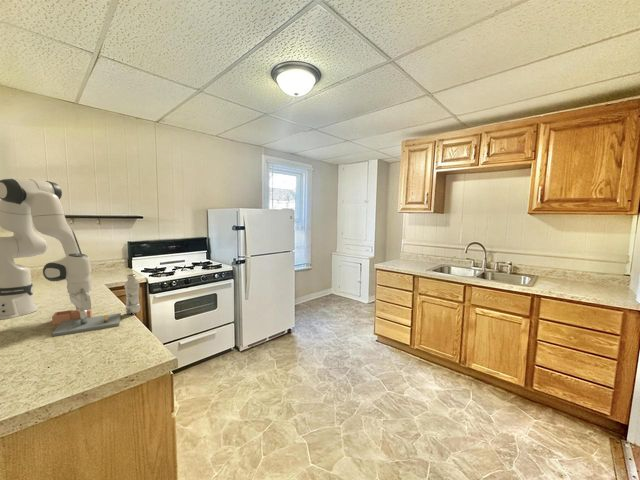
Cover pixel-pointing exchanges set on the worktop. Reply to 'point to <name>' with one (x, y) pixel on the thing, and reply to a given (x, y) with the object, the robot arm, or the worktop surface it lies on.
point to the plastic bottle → (132, 294)
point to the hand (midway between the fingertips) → (81, 315)
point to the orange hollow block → (68, 316)
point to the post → (84, 317)
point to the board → (92, 324)
